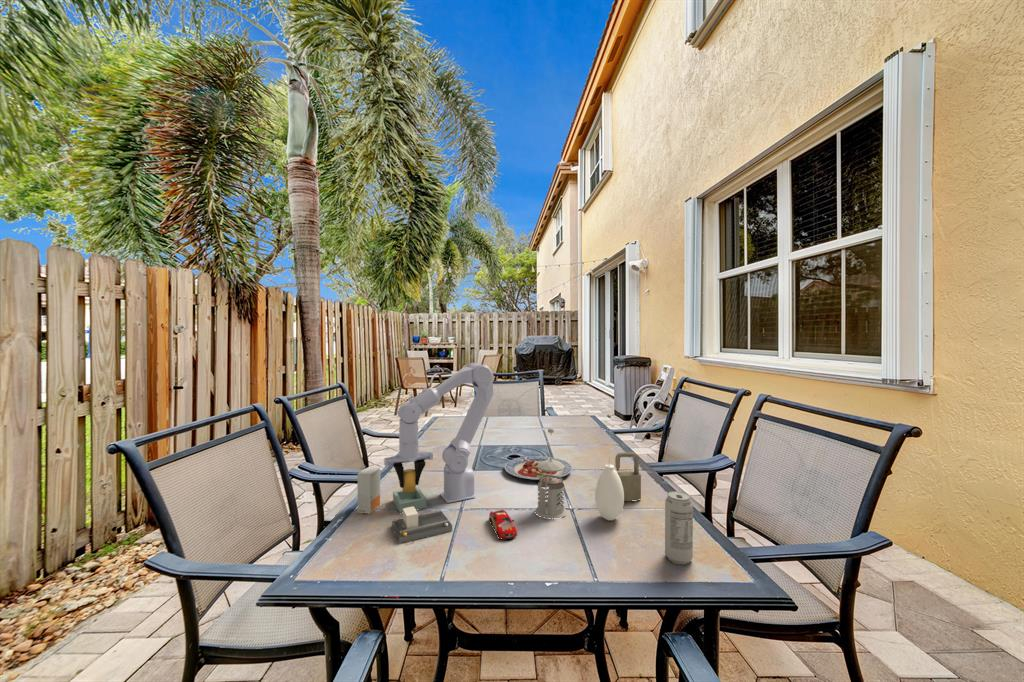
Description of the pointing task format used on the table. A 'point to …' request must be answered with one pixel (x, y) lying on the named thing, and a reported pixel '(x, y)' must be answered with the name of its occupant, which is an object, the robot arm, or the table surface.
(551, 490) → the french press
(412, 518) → the lever
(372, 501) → the skincare box
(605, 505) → the sauce bottle
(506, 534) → the race car
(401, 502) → the green rectangular tray
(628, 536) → the table surface
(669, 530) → the energy drink can
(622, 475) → the padlock
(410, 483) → the cap
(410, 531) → the box
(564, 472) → the ceramic plate
